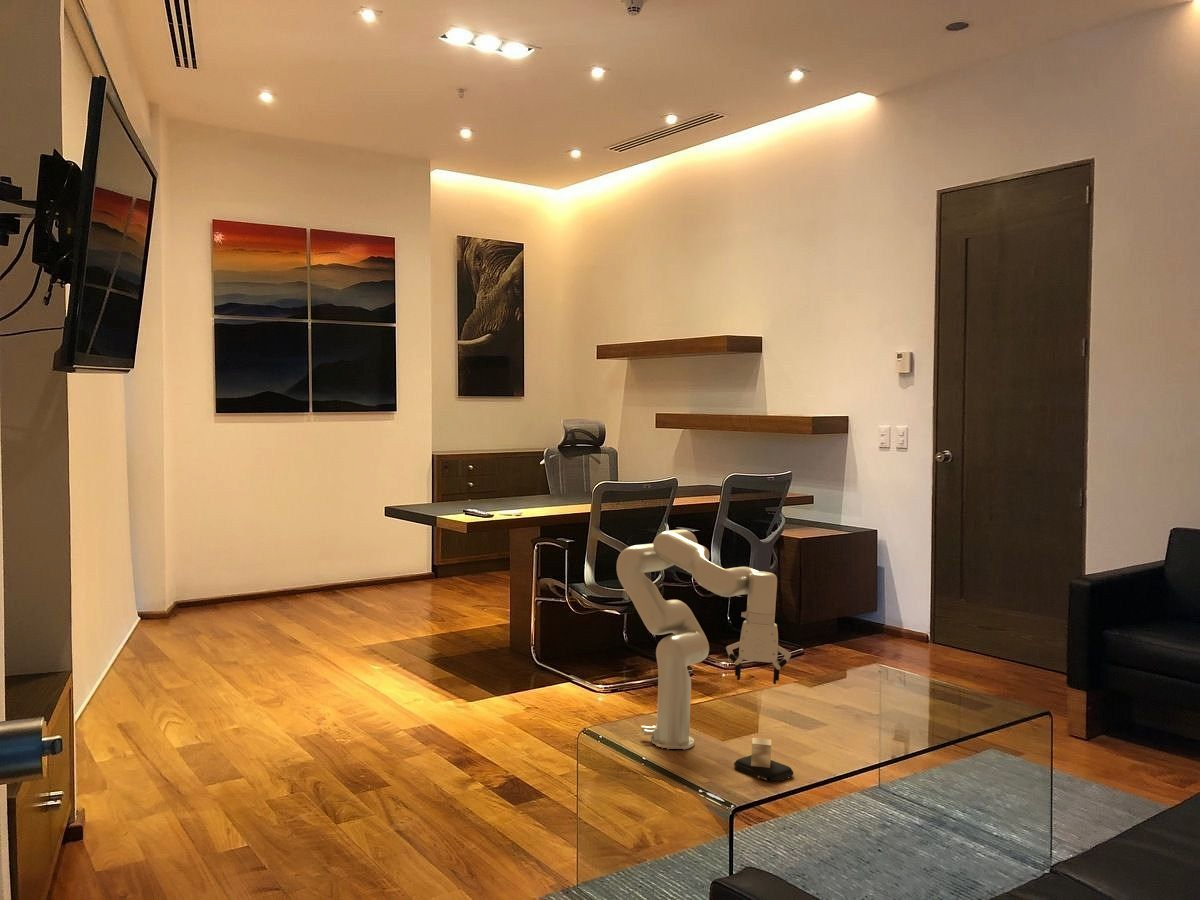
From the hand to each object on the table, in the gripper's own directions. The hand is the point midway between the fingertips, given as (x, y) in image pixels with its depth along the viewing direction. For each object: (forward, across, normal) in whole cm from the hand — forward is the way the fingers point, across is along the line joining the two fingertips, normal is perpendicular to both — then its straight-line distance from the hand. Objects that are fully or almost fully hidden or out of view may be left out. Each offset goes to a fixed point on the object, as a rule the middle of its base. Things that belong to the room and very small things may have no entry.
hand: (756, 680), depth 254 cm
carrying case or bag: (+25, +3, -2) cm, 25 cm away
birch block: (+21, +3, -3) cm, 22 cm away
